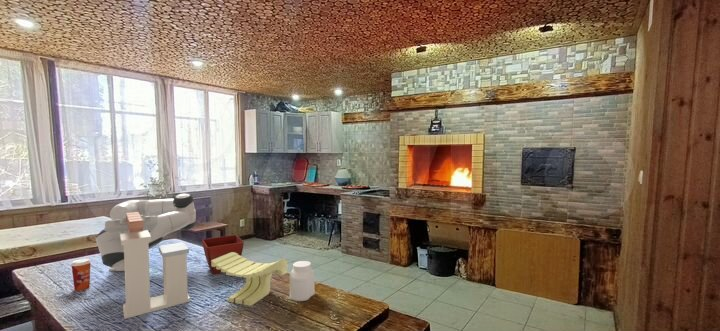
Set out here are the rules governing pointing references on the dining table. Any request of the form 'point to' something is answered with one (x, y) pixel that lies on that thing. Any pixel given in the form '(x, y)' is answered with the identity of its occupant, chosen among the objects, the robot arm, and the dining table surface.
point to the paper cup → (81, 274)
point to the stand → (140, 278)
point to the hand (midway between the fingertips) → (132, 217)
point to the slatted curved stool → (249, 276)
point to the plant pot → (221, 248)
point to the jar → (301, 281)
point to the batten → (134, 222)
